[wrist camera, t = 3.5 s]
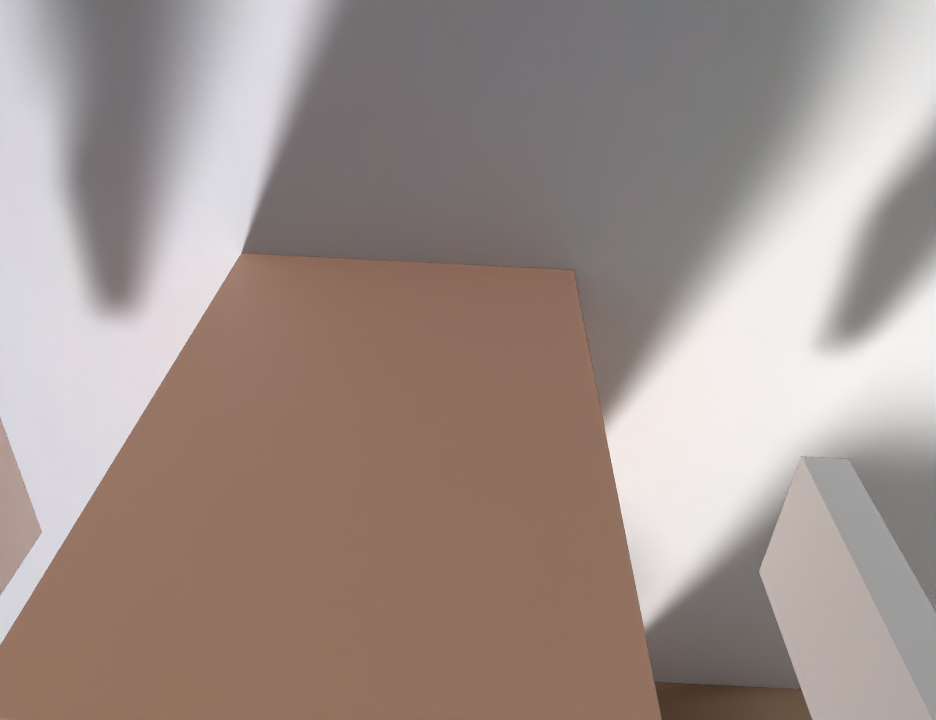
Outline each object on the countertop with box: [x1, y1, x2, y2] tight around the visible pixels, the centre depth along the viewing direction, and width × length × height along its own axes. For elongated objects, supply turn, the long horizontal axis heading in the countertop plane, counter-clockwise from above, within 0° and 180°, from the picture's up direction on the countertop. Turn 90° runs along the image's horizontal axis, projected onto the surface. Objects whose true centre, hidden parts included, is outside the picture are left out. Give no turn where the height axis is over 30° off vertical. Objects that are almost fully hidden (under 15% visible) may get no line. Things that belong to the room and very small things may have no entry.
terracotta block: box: [0, 253, 662, 720], centre depth 12 cm, size 6×6×9 cm
